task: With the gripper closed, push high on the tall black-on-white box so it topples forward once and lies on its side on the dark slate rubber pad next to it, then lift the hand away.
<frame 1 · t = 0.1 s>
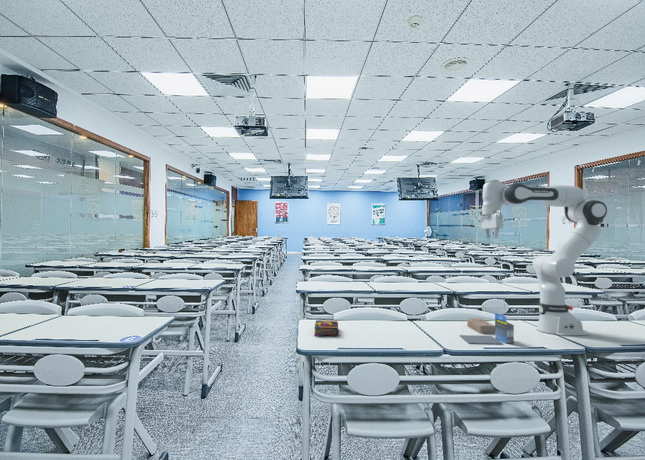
hand: (491, 237, 193), 48 cm above the table, tool pointing down, fingers open, 8 cm apart
label tape cartridge: (504, 341, 171), on the table
brick: (481, 330, 192), on the table
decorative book: (326, 333, 183), on the table
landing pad: (480, 340, 172), on the table
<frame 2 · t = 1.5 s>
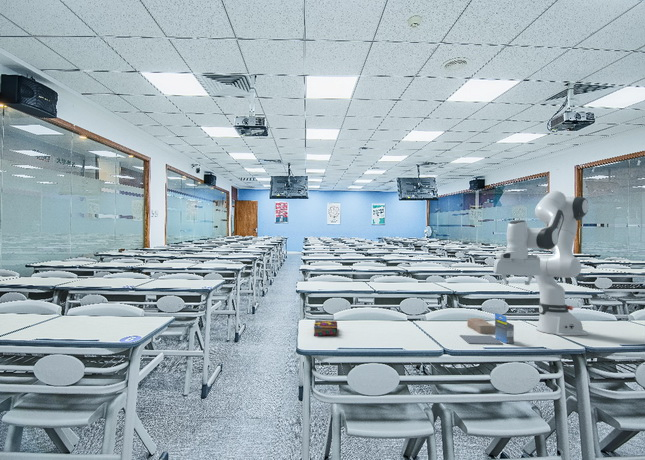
hand: (516, 284, 172), 26 cm above the table, tool pointing down, fingers open, 8 cm apart
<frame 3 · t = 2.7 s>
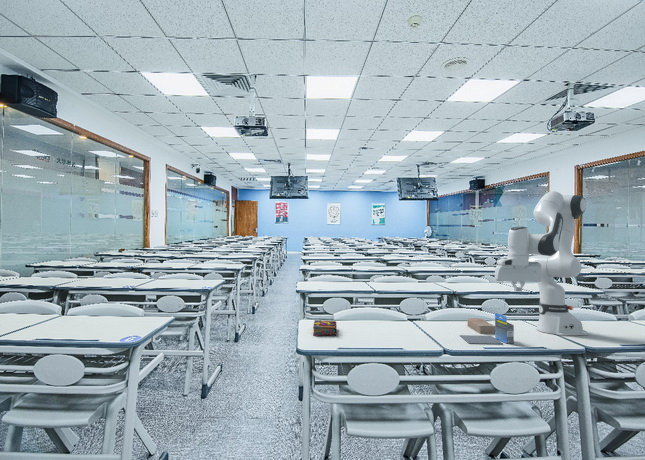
hand: (518, 291, 171), 23 cm above the table, tool pointing down, fingers closed
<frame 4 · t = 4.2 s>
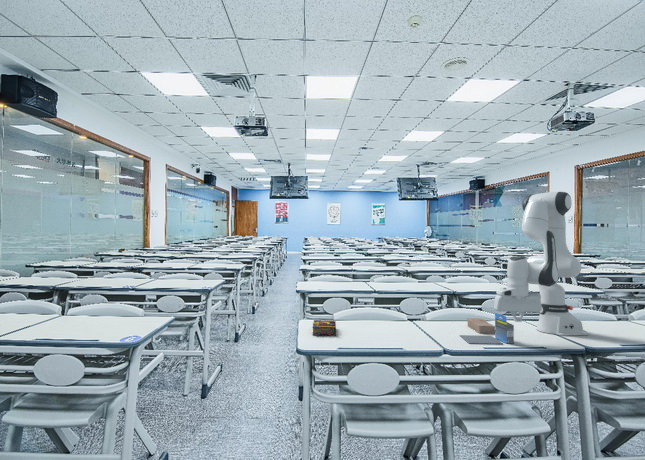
hand: (517, 321, 171), 9 cm above the table, tool pointing down, fingers closed
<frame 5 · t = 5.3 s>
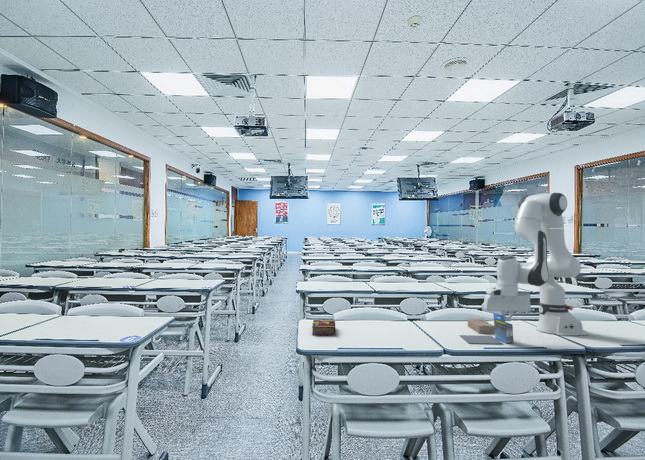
hand: (507, 320, 171), 9 cm above the table, tool pointing down, fingers closed
label tape cartridge: (504, 341, 171), on the table, touching gripper
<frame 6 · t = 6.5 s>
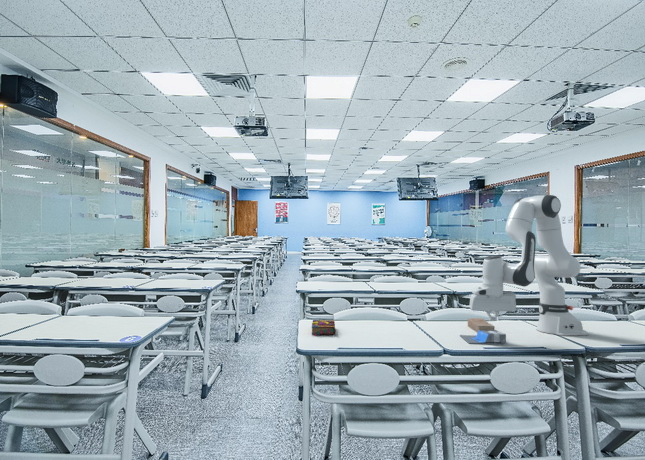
hand: (492, 320, 171), 9 cm above the table, tool pointing down, fingers closed
label tape cartridge: (501, 335, 171), point 2 cm above the table, touching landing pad
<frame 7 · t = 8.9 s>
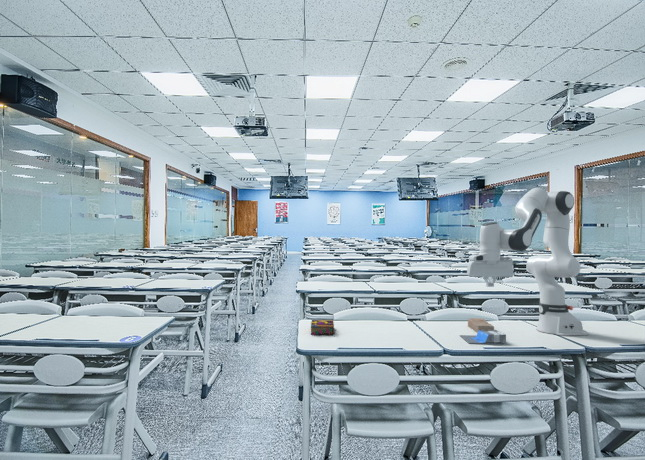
hand: (490, 286, 172), 25 cm above the table, tool pointing down, fingers closed
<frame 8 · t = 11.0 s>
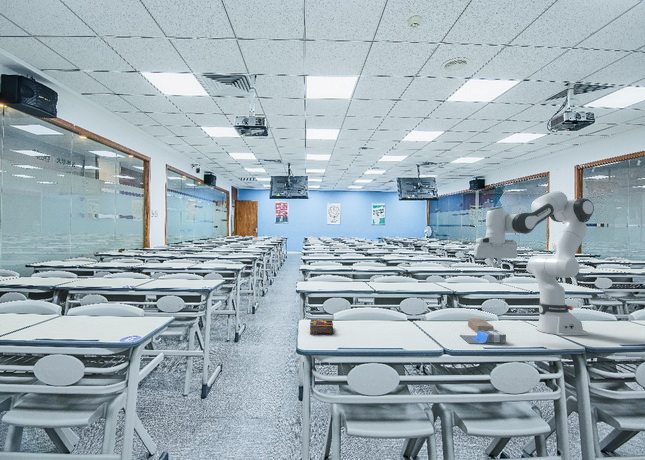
hand: (495, 267, 185), 33 cm above the table, tool pointing down, fingers closed
at the end: label tape cartridge tilted 90°; label tape cartridge inside the target area (3.5 cm from its centre), point 2.4 cm above the table; label tape cartridge touching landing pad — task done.
